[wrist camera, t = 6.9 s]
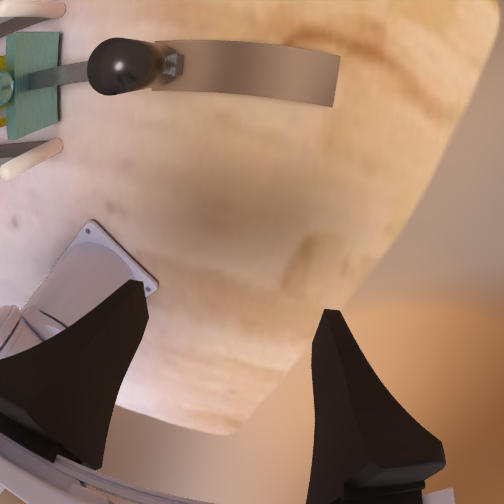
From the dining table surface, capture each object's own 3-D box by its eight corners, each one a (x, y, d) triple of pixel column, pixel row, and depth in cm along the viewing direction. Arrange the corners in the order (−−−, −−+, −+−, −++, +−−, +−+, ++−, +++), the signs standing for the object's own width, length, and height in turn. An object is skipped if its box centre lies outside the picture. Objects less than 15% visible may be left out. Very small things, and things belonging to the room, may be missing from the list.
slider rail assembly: (197, 12, 14) (148, -19, 7) (188, 120, 17) (137, 150, 11) (42, 36, 14) (-34, 43, 7) (42, 124, 18) (-30, 156, 11)
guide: (333, 57, 15) (340, 56, 13) (326, 103, 17) (332, 107, 15) (167, 43, 15) (154, 41, 13) (164, 88, 17) (151, 90, 15)
